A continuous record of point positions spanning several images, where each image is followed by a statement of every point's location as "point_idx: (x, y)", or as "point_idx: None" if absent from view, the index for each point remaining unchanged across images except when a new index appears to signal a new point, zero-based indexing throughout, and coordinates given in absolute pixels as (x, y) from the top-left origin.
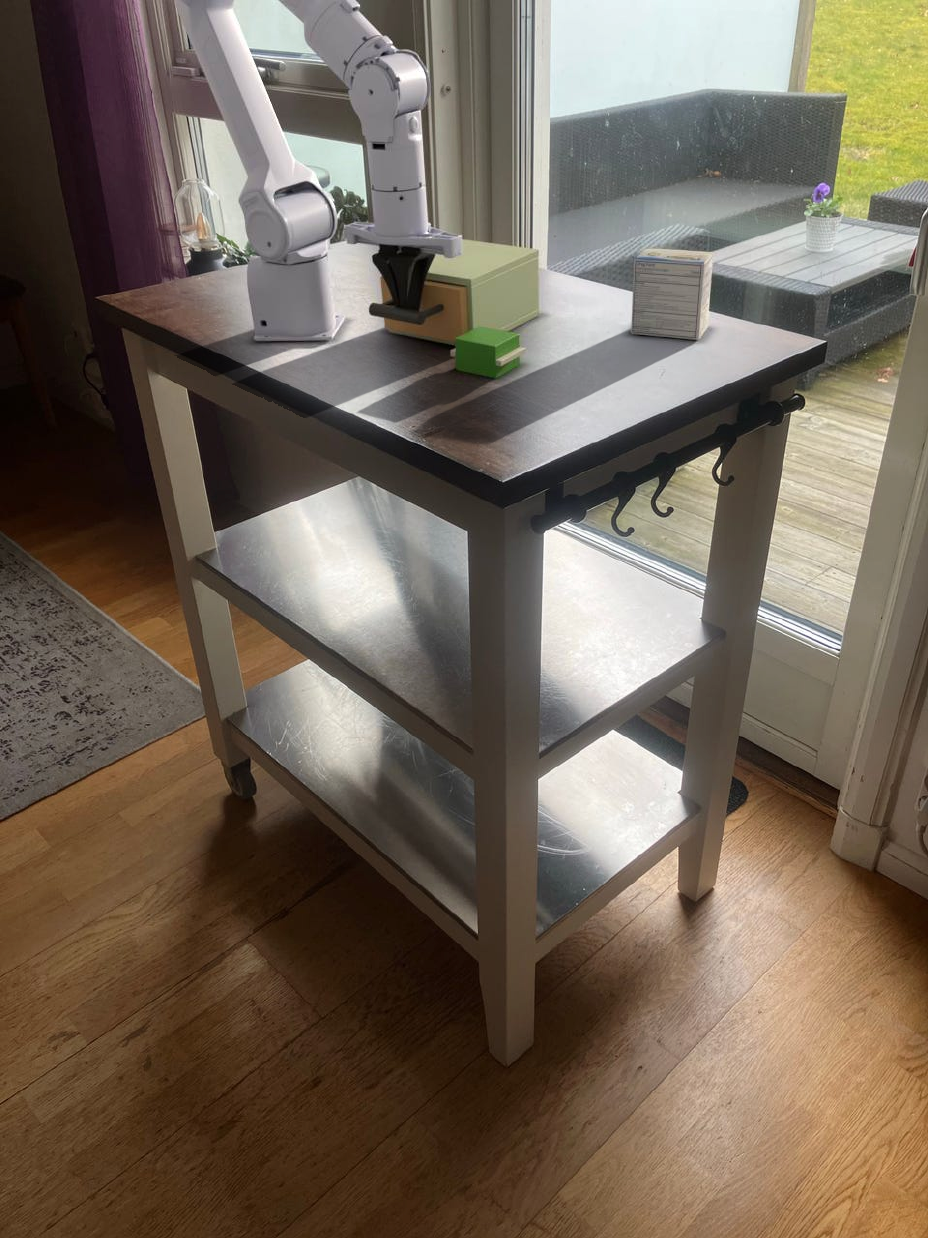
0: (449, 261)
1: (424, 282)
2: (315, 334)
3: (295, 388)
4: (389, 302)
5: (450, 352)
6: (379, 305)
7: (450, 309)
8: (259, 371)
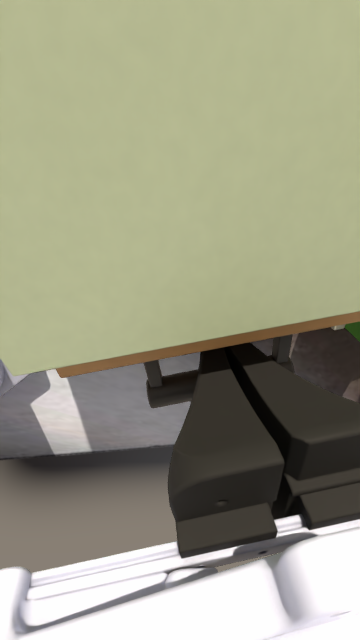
0: (235, 126)
1: (275, 362)
2: (5, 376)
3: (173, 444)
4: (157, 365)
5: (332, 328)
6: (177, 402)
7: None
8: (89, 451)
